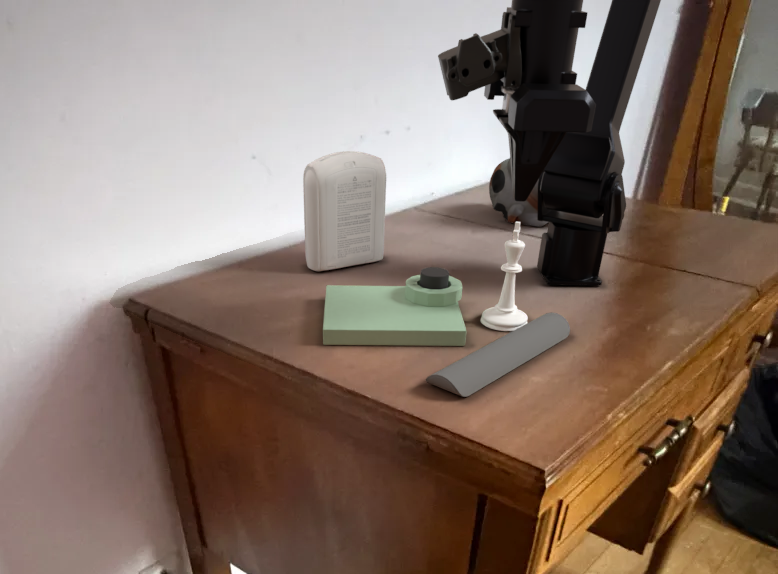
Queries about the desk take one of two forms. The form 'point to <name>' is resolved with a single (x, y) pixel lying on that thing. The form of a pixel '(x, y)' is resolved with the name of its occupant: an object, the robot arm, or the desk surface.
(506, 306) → the chess piece
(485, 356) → the gray half cylinder
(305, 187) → the white rounded block
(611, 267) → the desk surface
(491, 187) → the lucky cat figurine
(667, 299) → the desk surface
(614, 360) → the desk surface
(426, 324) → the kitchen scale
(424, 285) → the button
